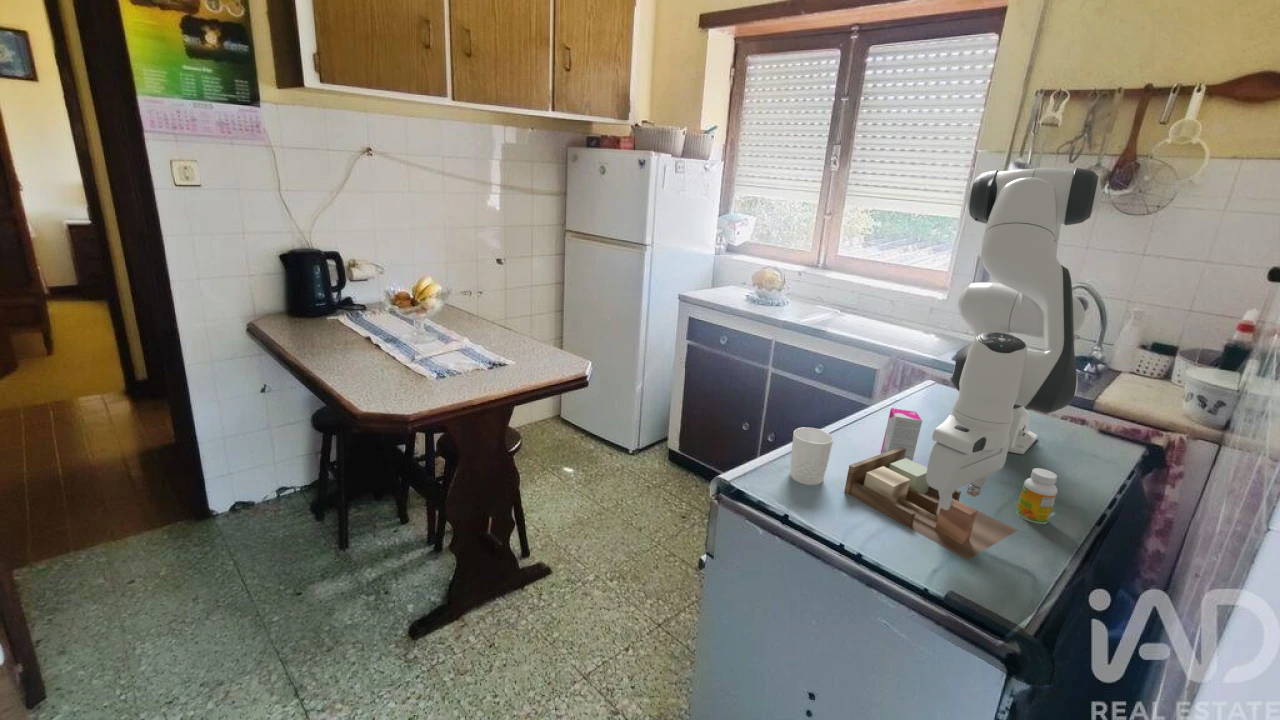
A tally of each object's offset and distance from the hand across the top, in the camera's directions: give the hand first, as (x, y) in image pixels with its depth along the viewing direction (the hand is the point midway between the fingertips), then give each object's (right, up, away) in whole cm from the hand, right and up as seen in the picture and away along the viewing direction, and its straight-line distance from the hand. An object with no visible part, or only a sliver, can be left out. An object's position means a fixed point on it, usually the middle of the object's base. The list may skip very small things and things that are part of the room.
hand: (959, 501), depth 105 cm
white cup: (-21, 0, +20) cm, 29 cm away
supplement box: (+2, +2, +31) cm, 31 cm away
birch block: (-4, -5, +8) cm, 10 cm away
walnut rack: (-1, -5, +10) cm, 11 cm away
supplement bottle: (+20, -6, +11) cm, 23 cm away
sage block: (-1, -2, +18) cm, 18 cm away
